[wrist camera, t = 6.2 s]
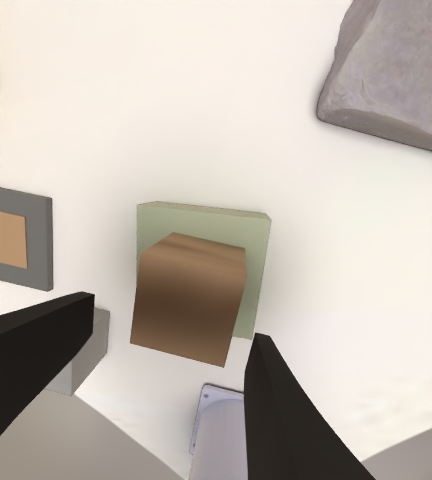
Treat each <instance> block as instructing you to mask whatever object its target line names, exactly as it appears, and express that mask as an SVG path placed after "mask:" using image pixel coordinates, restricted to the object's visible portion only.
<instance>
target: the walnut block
mask: <svg viewBox="0 0 432 480" xmlns="http://www.w3.org/2000/svg"><path fill="white" fill-rule="evenodd" d="M246 280H247V270H246V255H245V248H242V247H237V246H233V245H228V244H224V243H220V242H215V241H211V240H206V239H202V238H197V237H193V236H188V235H184V234H179V233H175V232H173V233H171V234H170V235H168V236H166V237H165V238H163V239H162V240H160V241H159V242H157V243H156V244H154V245H152V246H151V247H149V248H148V249H146V250H145V251H143V252H141V253H140V262H139V270H138V279H137V287H136V296H135V304H134V312H133V321H132V329H131V338H130V343H131V344H135V345H139V346H143V347H147V348H150V349H154V350H158V351H162V352H166V353H170V354H174V355H177V356H181V357H185V358H189V359H193V360H197V361H200V362H204V363H208V364H212V365H216V366H220V367H223V368H224V366H225V362H226V358H227V354H228V350H229V346H230V342H231V338H232V335H233V331H234V327H235V323H236V319H237V315H238V311H239V307H240V303H241V299H242V295H243V292H244V288H245V284H246Z"/></svg>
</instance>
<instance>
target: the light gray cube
mask: <svg viewBox="0 0 432 480" xmlns="http://www.w3.org/2000/svg"><path fill="white" fill-rule="evenodd" d="M109 316H110V311H107V310H103V309H99V308H95V307H94V321H93V334H92V335H91V337H90V338H89V339H88V341H87V342H86V343H85V345H84V346H83V347H82V349H81V350H80V351H79V352H78V354H77V355H76V356H75V357H74V358H73V359H72V360H71V361H70V362H69V363H68V364H67V365H66V366H65V367H64V368H63V370H62V371H61V372H60V373H59V374H58V375H57V376H56V377H55V378H54V379H53V380H52V381H51V382H50V383H49V384H48V385H47V386H46V387H45V388H44V389H46V390H50V391H54V392H57V393H60V394H64V395H68V396H72V395H73V394H74V392H75V391H76V390H77V389H78V387H79V386H80V385H81V384H82V383H83V381H84V380H85V379H86V378H87V376H88V375H89V374H90V373H91V372H92V370H93V369H94V368H95V367H96V365H97V364H98V363H99V362H100V361H101V359H102V358H103V357H104V356H105V354H106V353H107V346H108V331H109Z"/></svg>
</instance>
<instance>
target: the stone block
mask: <svg viewBox="0 0 432 480" xmlns="http://www.w3.org/2000/svg"><path fill="white" fill-rule="evenodd" d="M317 115H318V117H319V118H320V119H321V120H323V121H324V122H328V123H331V124H334V125H338V126H342V127H346V128H350V129H353V130H357V131H360V132H364V133H368V134H372V135H375V136H379V137H382V138H386V139H390V140H394V141H397V142H401V143H404V144H408V145H412V146H416V147H420V148H424V149H428V150H431V151H432V0H354V1H353V3H352V5H351V6H350V8H349V9H348V10H347V12H346V14H345V17H344V19H343V21H342V23H341V25H340V32H339V37H338V42H337V46H336V47H335V60H334V63H333V65H332V68H331V71H330V73H329V74H328V76H327V79H326V81H325V84H324V87H323V90H322V92H321V95H320V98H319V103H318V110H317Z"/></svg>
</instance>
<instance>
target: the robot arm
mask: <svg viewBox="0 0 432 480" xmlns="http://www.w3.org/2000/svg"><path fill="white" fill-rule="evenodd" d="M94 298H95V294H91V293H86V292H77V293H73V294H70V295H66V296H63V297H59V298H56V299H53V300H50V301H46V302H43V303H40V304H37V305H33V306H30V307H27V308H24V309H20V310H17V311H13V312H10V313H6V314H3V315H0V435H1V434H2V433H3V432H4V431H5V430H6V429H7V427H8V426H9V425H10V424H11V423H12V421H13V420H14V419H15V418H16V417H17V416H18V415H19V414H20V413H21V412H22V411H23V409H24V408H25V407H26V406H27V405H28V404H29V403H30V402H31V401H32V400H33V399H34V398H35V397H36V396H37V395H38V394H39V393H40V392H41V391H42V390H43V389H44V388H45V387H46V386H47V385H48V384H49V383H50V382H51V381H52V380H53V379H54V378H55V377H56V376H57V375H58V374H59V373H60V372H61V371H62V370H63V368H64V367H65V366H66V365H67V364H68V363H69V362H70V361H71V360H72V359H73V358H74V357H75V356H76V355H77V354H78V352H79V351H80V350H81V349H82V347H83V346H84V345H85V343H86V342H87V341H88V339H89V338H90V337H91V335H92V334H93V321H94ZM189 452H190V453H191V454H192V455H193V460H192V466H191V471H190V477H189V480H376V479H375V478H374V477H373V476H372V475H371V474H370V473H369V472H368V471H367V469H365V467H364V466H363V465H362V464H361V463H360V462H359V461H358V459H357V458H356V457H355V456H354V455H353V454H352V452H351V451H350V450H349V449H348V448H347V447H346V445H345V444H344V443H343V442H342V441H341V439H340V438H339V437H338V436H337V434H336V433H335V432H334V431H333V429H332V428H331V427H330V426H329V424H328V423H327V422H326V421H325V419H324V418H323V417H322V415H321V414H320V413H319V411H318V410H317V409H316V407H315V406H314V405H313V403H312V402H311V400H310V399H309V398H308V396H307V395H306V393H305V392H304V390H303V389H302V388H301V386H300V384H299V383H298V381H297V380H296V378H295V377H294V375H293V374H292V372H291V370H290V369H289V367H288V366H287V364H286V362H285V361H284V359H283V357H282V356H281V354H280V352H279V351H278V349H277V347H276V345H275V344H274V342H273V340H272V339H271V337H270V336H268V335H264V334H259V333H255V336H254V339H253V343H252V347H251V350H250V354H249V358H248V362H247V365H246V369H245V378H244V394H241V393H237V392H233V391H230V390H226V389H222V388H218V387H214V386H210V385H204V386H203V388H202V393H201V398H200V402H199V407H198V412H197V417H196V421H195V426H194V431H193V435H192V440H191V445H190V450H189Z"/></svg>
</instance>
